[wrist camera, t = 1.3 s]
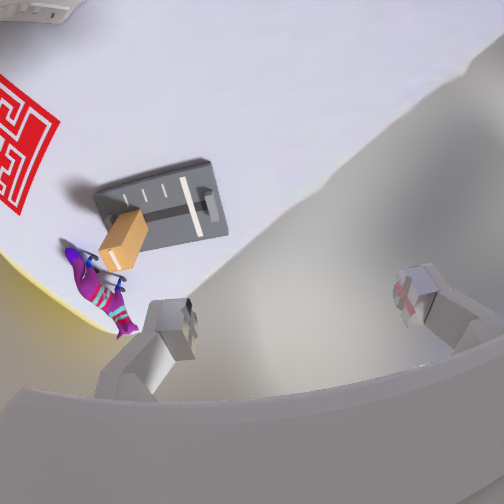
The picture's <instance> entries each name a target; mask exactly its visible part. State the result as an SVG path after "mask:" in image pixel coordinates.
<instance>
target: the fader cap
mask: <svg viewBox="0 0 504 504" xmlns="http://www.w3.org/2000/svg"><path fill="white" fill-rule="evenodd" d="M148 230H149V229H148V227H147V224H146V222H145V220H144V217H143V215H142V212H141V209H139V210H135V211H131V212H127V213H123V214H120V215H119V216H118V218H117V219H116V221H115V223H114V224H113V226H112V228H111V229H110V231H109V233H108V234H107V236H106V238H105V239H104V241H103V243H102V245H101V246H100V248H99V250H98V252H99V254H100V256H101V258H102V259H103V261H104V263H105V265H106V267H107V269H108V270H109V272H116V271H121V270H127V269H132V268H133V266H134V264H135V261H136V259H137V256H138V254H139V251H140V249H141V246H142V244H143V241H144V239H145V237H146V234H147V232H148Z"/></svg>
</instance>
